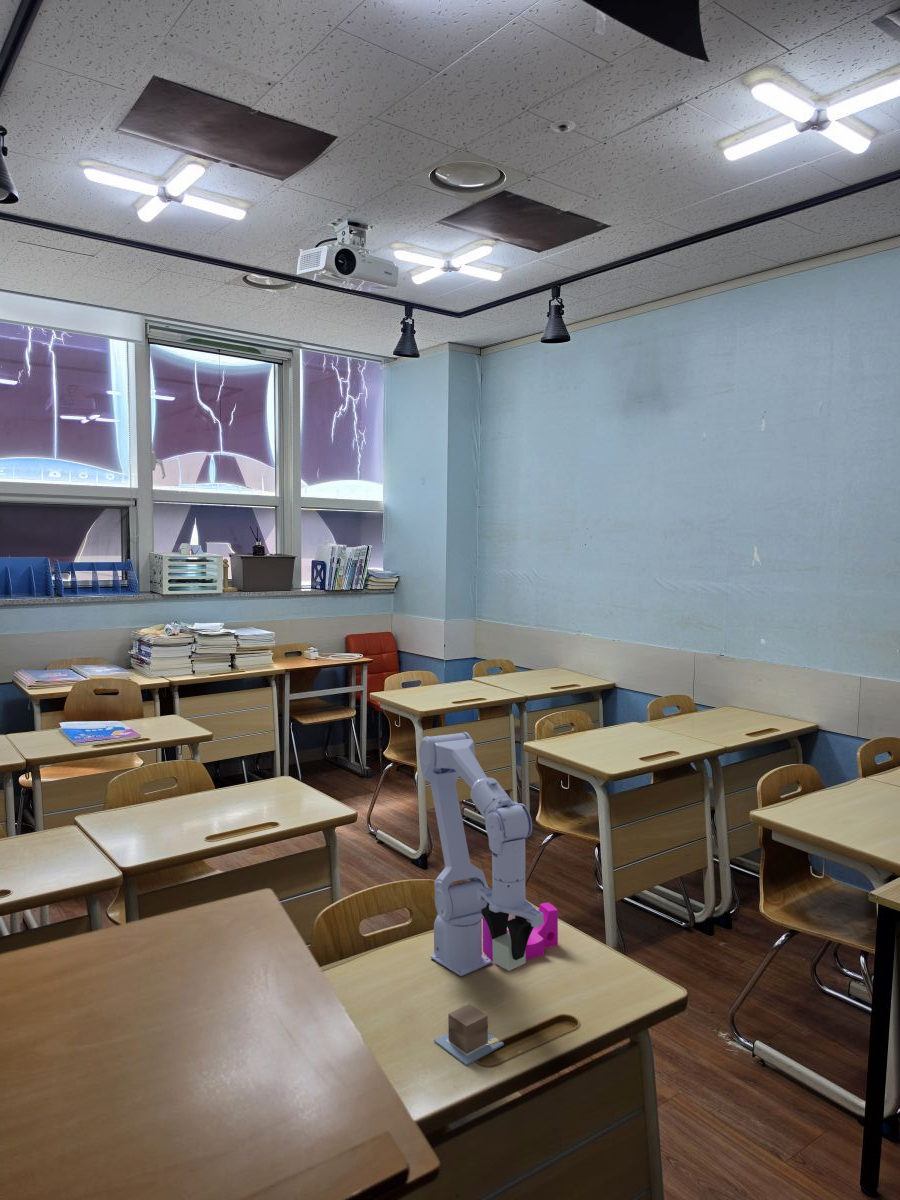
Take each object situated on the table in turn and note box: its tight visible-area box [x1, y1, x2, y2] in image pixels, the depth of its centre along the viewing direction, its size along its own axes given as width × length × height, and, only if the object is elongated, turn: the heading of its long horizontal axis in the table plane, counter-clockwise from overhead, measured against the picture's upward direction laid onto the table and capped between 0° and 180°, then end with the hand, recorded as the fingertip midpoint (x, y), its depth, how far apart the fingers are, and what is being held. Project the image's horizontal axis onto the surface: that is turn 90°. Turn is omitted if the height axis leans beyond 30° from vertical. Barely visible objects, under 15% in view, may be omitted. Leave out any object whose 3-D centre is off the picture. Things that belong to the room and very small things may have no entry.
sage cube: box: [492, 933, 527, 971], centre depth 137 cm, size 4×4×4 cm
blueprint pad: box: [433, 1032, 505, 1066], centre depth 128 cm, size 8×8×1 cm
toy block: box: [482, 901, 559, 967], centre depth 157 cm, size 15×6×8 cm, turn 113°
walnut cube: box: [447, 1003, 489, 1054], centre depth 127 cm, size 4×4×4 cm
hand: (509, 952), depth 137 cm, fingers closed on sage cube, 4 cm apart
